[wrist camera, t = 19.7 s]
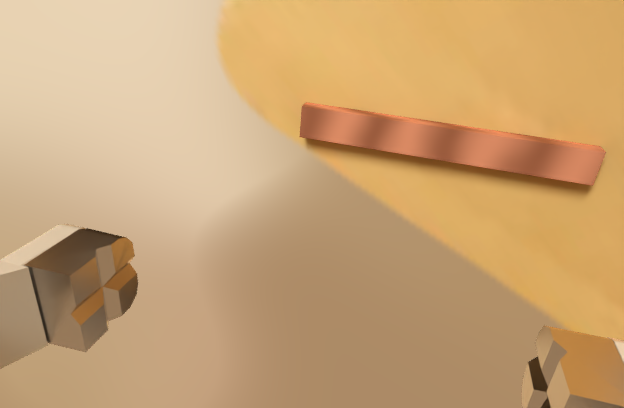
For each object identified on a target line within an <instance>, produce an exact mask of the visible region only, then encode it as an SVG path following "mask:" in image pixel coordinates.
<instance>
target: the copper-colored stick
mask: <svg viewBox="0 0 624 408" xmlns="http://www.w3.org/2000/svg"><path fill="white" fill-rule="evenodd" d="M300 137H303V138H309V139H315V140H321V141H327V142H333V143H339V144H345V145H351V146H357V147H363V148H369V149H376V150H382V151H388V152H394V153H400V154H406V155H412V156H418V157H424V158H430V159H436V160H442V161H448V162H454V163H460V164H466V165H472V166H478V167H484V168H490V169H496V170H502V171H508V172H514V173H520V174H526V175H532V176H538V177H544V178H550V179H556V180H562V181H568V182H574V183H580V184H587V185H593V184H594V181H595V179H596V176H597V174H598V171H599V169H600V166H601V164H602V161H603V159H604V156H605V153H606V152H605V151H604V150H603V149H602V148H601V147H600V146H594V145H588V144H581V143H574V142H568V141H561V140H554V139H548V138H541V137H534V136H528V135H521V134H514V133H508V132H501V131H494V130H488V129H481V128H474V127H468V126H461V125H454V124H448V123H441V122H434V121H428V120H421V119H414V118H408V117H401V116H394V115H388V114H381V113H374V112H368V111H361V110H354V109H348V108H341V107H334V106H327V105H321V104H314V103H307V102H306V103H305V104H304V105H303V106H302V112H301V126H300Z"/></svg>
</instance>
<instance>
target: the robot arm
mask: <svg viewBox="0 0 624 408" xmlns="http://www.w3.org/2000/svg"><path fill="white" fill-rule="evenodd" d="M134 256H135V255H134V249H133V244H132V242H131V241H130V240H129V239H128V238H126V237H122V236H118V235H113V234H109V233H105V232H101V231H96V230H92V229H88V228H83V227H79V226H74V225H69V224H61V225H58V226H56V227H54V228H53V229H51V230H49V231H48V232H46V233H44V234H43V235H41V236H39V237H38V238H36V239H34V240H33V241H31V242H29V243H28V244H26V245H24V246H23V247H21V248H19V249H18V250H16V251H14V252H13V253H11V254H9V255H8V256H6V257H4V258H3V259H1V260H0V369H1V368H3V367H5V366H7V365H9V364H11V363H13V362H15V361H17V360H19V359H21V358H23V357H25V356H28V355H29V354H32V353H34V352H36V351H38V350H40V349H42V348H44V347H46V346H48V343H50V344H54V345H58V346H62V347H66V348H71V349H75V350H79V351H83V352H86V351H87V350H88V349H89V348H90V347H91V346H92V345H93V344H94V343H95V342H96V341H97V340H98V339H99V338H100V337H101V336H102V335H103V334H104V333H105V332H106V331H107V330H108V321H110V320H113V319H115V318H118V317H120V316H122V315H123V314H124V313H125V312H126V311H127V310H128V309H129V308H130V307H131V305H132V303H133V301H134V298H135V296H136V294H137V287H138V279H137V273H136V271H135V270H134V269H133V268H132V266H131V265H130V261H131V260H132V259H133V257H134ZM535 345H536V349H537V353H538V357H536V358H534V359H532V360H531V361H529V362H528V364H527V367H526V370H525V373H524V376H523V382H522V390H521V399H522V408H624V340H619V339H613V338H604V337H599V336H594V335H589V334H584V333H579V332H574V331H569V330H564V329H559V328H554V327H549V326H543V328H542V329H541V330H540V332H539V334H538V336H537V339H536V342H535Z"/></svg>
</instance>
